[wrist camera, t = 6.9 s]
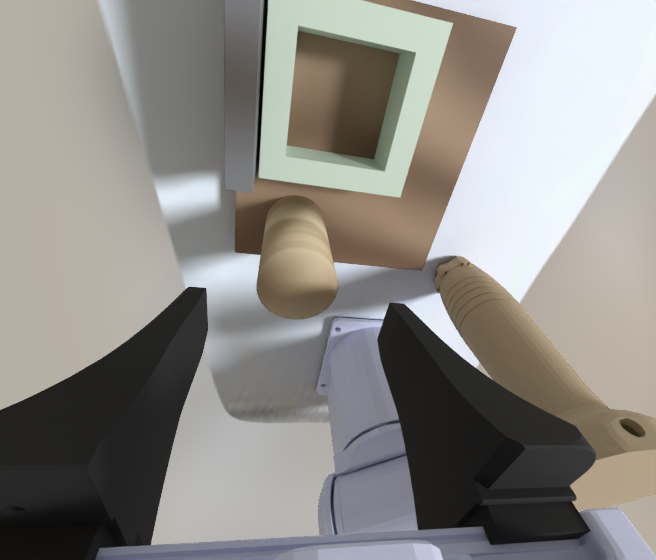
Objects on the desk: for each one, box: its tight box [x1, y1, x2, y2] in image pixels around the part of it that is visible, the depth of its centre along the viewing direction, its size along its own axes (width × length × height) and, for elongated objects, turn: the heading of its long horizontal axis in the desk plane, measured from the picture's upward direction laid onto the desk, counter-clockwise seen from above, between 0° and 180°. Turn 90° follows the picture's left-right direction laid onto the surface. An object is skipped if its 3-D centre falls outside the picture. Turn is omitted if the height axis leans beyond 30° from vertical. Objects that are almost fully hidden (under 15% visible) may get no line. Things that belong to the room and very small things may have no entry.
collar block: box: [259, 0, 453, 198], centre depth 15 cm, size 7×7×2 cm
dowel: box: [257, 195, 338, 319], centre depth 17 cm, size 4×4×7 cm
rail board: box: [224, 0, 517, 271], centre depth 17 cm, size 14×13×5 cm
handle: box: [434, 257, 656, 510], centre depth 19 cm, size 5×6×15 cm
